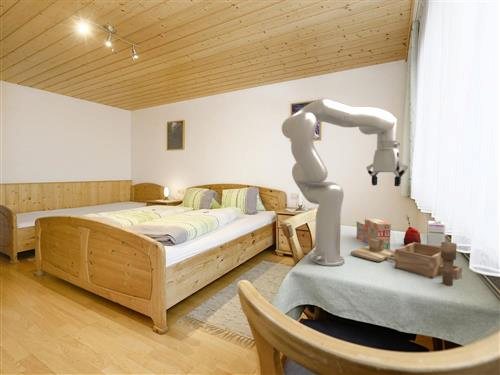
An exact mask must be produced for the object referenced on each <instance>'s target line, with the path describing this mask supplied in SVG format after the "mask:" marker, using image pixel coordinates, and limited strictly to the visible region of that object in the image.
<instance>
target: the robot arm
mask: <svg viewBox="0 0 500 375" xmlns="http://www.w3.org/2000/svg"><path fill="white" fill-rule="evenodd" d="M318 123H328V124H330V125H334V126H338V127H342V128H358V129H359V131H360V133H362V134H363V135H368V136H369V135H376V150H375V151H374V155H373V160H372V162H373V163H371V164H369V165H367V166H366V170H367V173H368V174H369V176H370V177H371V186H377V185H378V174H379V173H393V174H394V175H395V177H394V186H395V187H400V185H401V180H402V178H401V177H403V175H404V174H405V173H406V171H407V169H408V168H409V166H408V165H407V164H404V163H402V162H401V155H400V149H398V147H400V142H398V141H397V139H398V138H397V137H398V119H397V118H396V117H395V116H394V115H393V114H392V113H390V112H389V111H387V110H384V109H382V108H377V107H369V106H353V105H349V104H345V103H342V102H339V101H337V100H333V99H330V98H325V97H324V98H323V97H322V98H319V99H317V100H315V101H313V102H310V103H308V104H307V105H304V106H303V107H302V108H301V109H299V110H297V111H296V112H295V113H293V114H291V115H290V116H288V117H287V118H286V119H285V120H284V121H283V123H282V125H281V133H282V135H283V136H284V137H286V139H289V140H290V139H291V142H290V143H291V144H290V150H291V154H292V156H293V158H294V161H295V163H294V165H293V166H292V169H291V175H292V176H291V177H292V179H293V181H294V183H295V184H296V186H297V187H298V189H299V190H300V192H301V194H302V195H303V197H304V198H305V200H307V201H308V202H309V203H311V204H314V205H318V207H317V209H316V212H315V240H314V241H315V248H314V249H313V253H311V254H308V255H307V259H308V260H309V261H310V260H311V261H312V262H314V263H315V264H318V265H321V266H322V265H323V266H327V267H328V266H329V267H331V266H333V267H334V266H340V265H343V264H345V258H344V257H343V256H342V255H341V217H342V216H341V214H342V206H343V201H344V196H345V195H344V190H343V188H342V187H341V186H340V185H339V184H338V183H337V182H332V181H326V180H327V179H328V173H329V172H328V169H327V167H326V165H325V163H324V161H323V160H322V158H321V156H320V154H319V153H318V151H317V149H316V147H315V145H314V136H315V133H316V129H317V127H318Z"/></svg>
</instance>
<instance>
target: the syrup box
mask: <svg viewBox="0 0 500 375" xmlns="http://www.w3.org/2000/svg"><path fill="white" fill-rule="evenodd" d="M445 229H446V225H445V222H444V221H439V220H438V221H437V220H428V221H427V235H426V237H427V239H426V241H427V243H426V245H431V246H436V247H441V242H446V240H445V239H446V233H445V231H446V230H445Z"/></svg>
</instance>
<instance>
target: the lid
mask: <svg viewBox="0 0 500 375" xmlns="http://www.w3.org/2000/svg"><path fill="white" fill-rule="evenodd" d="M350 255H353V256H355V257H358V258H361V259H366V260H369V261H373V262H381V261H384V260H388V261H389V260H390V261H392V262H395V249H394V250H393V249H390V250H389V249H385V248H384V239H382V238H373V239H370V241H369V245H367V246H364V247H362V248H361V247H360V248H358V249H355V250H352V251H350Z"/></svg>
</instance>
